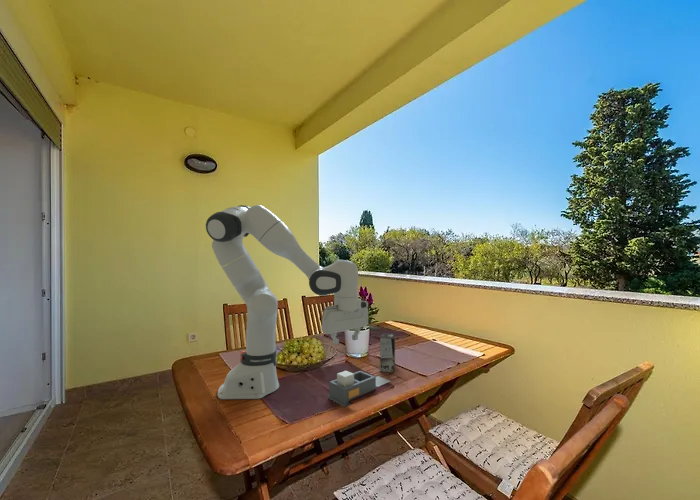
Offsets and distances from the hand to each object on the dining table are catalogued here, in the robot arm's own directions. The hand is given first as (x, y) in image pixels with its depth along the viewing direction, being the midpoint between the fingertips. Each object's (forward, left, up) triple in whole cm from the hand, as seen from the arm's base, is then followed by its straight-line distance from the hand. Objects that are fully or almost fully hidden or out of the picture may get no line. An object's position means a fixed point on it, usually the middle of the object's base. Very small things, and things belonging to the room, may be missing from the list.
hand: (345, 342), depth 109 cm
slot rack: (+7, +4, -21) cm, 22 cm away
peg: (0, 0, -20) cm, 20 cm away
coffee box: (+24, +21, -21) cm, 38 cm away
